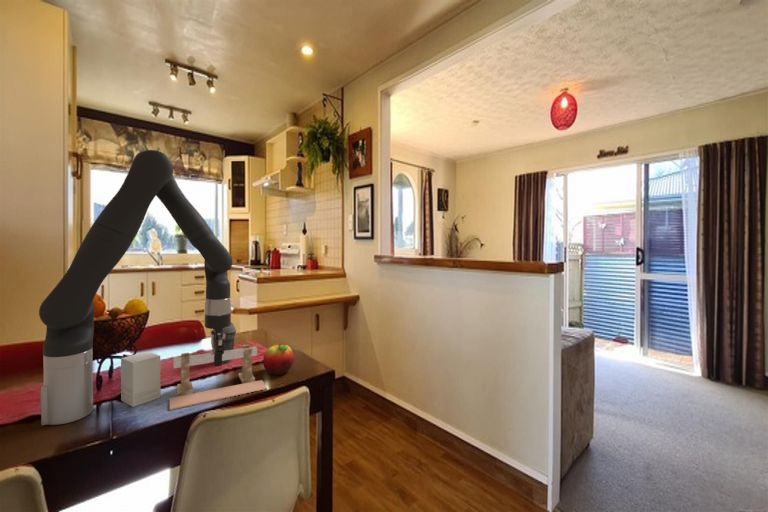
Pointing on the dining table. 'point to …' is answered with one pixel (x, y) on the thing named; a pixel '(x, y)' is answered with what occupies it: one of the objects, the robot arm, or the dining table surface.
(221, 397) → the terracotta board
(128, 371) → the supplement box
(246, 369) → the right stand
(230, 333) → the beverage cup
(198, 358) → the pale grey long bar
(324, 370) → the dining table surface
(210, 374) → the dining table surface
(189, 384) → the left stand
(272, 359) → the fruit
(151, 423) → the dining table surface
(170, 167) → the robot arm
